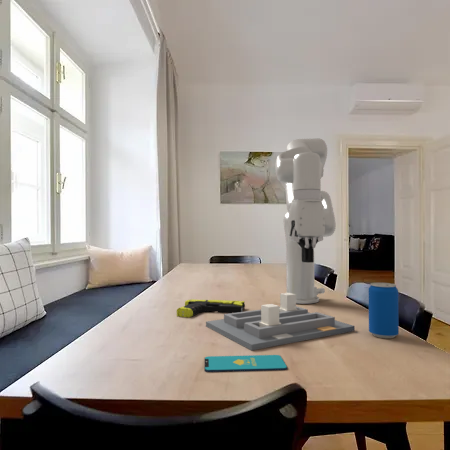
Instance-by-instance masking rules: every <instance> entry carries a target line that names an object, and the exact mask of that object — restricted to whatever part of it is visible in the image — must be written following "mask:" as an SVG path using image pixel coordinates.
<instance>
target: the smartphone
mask: <svg viewBox="0 0 450 450" xmlns="http://www.w3.org/2000/svg"><path fill="white" fill-rule="evenodd" d="M287 370H288V366H287V364H286V362H285V360H284V359H283V357H282V355H280V354H262V355H261V354H259V355H258V354H257V355H253V354H252V355H251V354H250V355H249V354H248V355H216V356H215V355H212V356H211V355H210V356H205V357H204V372H206V373H233V372H263V371H264V372H266V371H267V372H268V371H287Z"/></svg>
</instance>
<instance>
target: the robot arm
mask: <svg viewBox="0 0 450 450" xmlns="http://www.w3.org/2000/svg"><path fill="white" fill-rule="evenodd" d="M327 157H328V145H327V143H326V141H325V140H323V139H322V138H295V139H293V140H291V141H290V142H289V143H288V144H287V145H286V149H285V151H283V152H281V153H279V154H278V155H277V157H276V159H275V166H274V167H275V177H276V180H277V181H278V182H279V183H281V185H282V187H283V189H284V190H285V201H286V203H285V204H286V209H287V212H286V213H285V214H284V216H283V229H284V234H285V249H286V253H285V254H286V256H285V257H286V259H285V260H286V261H285V262H286V263H285V264H286V265H285V267H286V293H292V294H296V305H297V304H298V305H299V304H300V305H301V304H303V305H305V304H306V305H307V304H308V305H309V304H316V303H318V302H320V297H319V296H318V295H320V294H324V293H326V290H325V288H324V287H319V288H318V287H316V286H315V248H316V245H317V244H318V242H323V240H324V238H327V237H331V236H333V235H334V233H335V231H336V216H335V212H334V208H333V203H332V199H331V196H330V193H328V192H327V191H325V190H321V188H322V187H321V186H322V185H321V180H322V178H323V177H324V170H325V169H324V168H325V166H326V165H325V164H326V162H327Z"/></svg>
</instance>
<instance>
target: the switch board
mask: <svg viewBox="0 0 450 450" xmlns="http://www.w3.org/2000/svg"><path fill="white" fill-rule="evenodd" d="M279 308H280V306H279ZM296 309H298V310H292V311H285V312H279V323H281V324H279V325H273V326H267V327H259V322H261V309H256V310H255V309H254V310H246V311H243V312H238V313H223V319H222V318H221V319H215V320H207V321H205V327H207V328H209V329H211V330H212V331H214V332H216V333H217V334H220V335H221V336H223V337H226V338H227V339H229V340H231V341H233V342H235V343H237V344H239V345H240V346H242V347H245V348H246V349H248V350H250V351H257V350H261V349H267V348H273V347H277V346H282V345H288V344H292V343H297V342H303V341H304V342H305V341H309V340H312V339H313V340H314V339H318V338H325V337H328V336H329V337H330V336H334V335H339V334H345V333H351V332H355V325H353V324H349V323H345V322H342V321H340V320H336V319H335V318H336V317H335V316H331V315H328V314H325V313H322V312H317V311H316V312H315V311H314V312H309V311H308V309H307V308H304V307H300V306H297V305H296Z"/></svg>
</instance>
